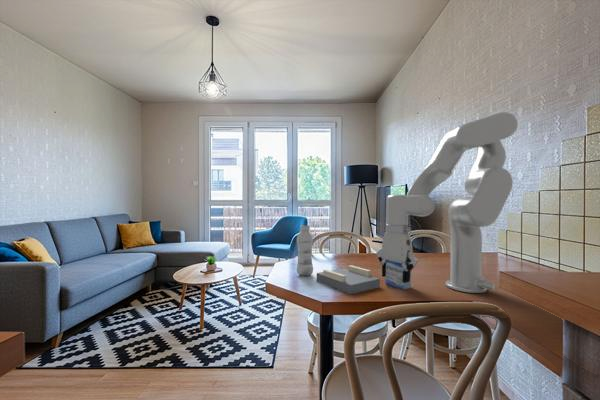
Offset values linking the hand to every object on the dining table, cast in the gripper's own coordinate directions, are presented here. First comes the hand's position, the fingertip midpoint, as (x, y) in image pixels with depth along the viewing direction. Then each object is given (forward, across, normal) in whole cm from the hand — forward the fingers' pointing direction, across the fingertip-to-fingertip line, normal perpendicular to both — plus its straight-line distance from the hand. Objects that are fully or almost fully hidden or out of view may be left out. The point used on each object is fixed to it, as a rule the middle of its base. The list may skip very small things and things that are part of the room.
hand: (395, 278), depth 101 cm
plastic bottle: (+4, +29, +18) cm, 35 cm away
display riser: (+3, +11, +12) cm, 17 cm away
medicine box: (+3, 0, -2) cm, 3 cm away
